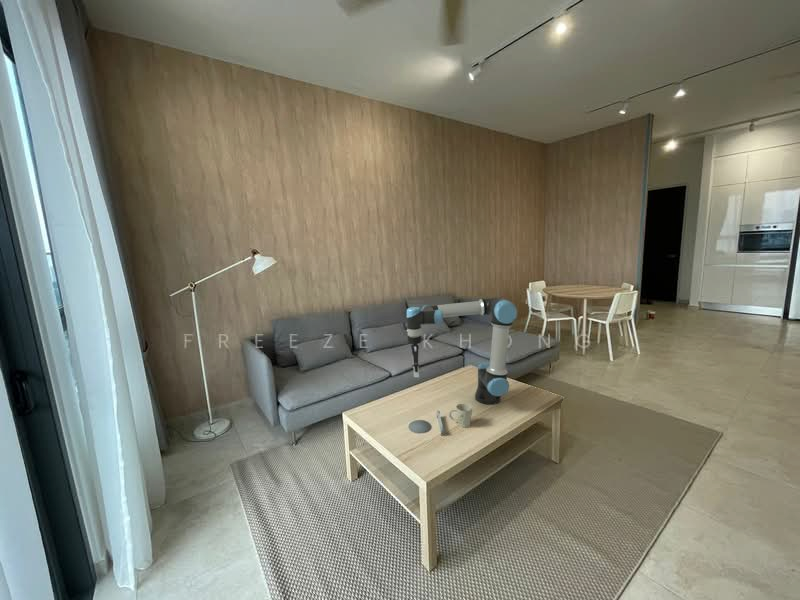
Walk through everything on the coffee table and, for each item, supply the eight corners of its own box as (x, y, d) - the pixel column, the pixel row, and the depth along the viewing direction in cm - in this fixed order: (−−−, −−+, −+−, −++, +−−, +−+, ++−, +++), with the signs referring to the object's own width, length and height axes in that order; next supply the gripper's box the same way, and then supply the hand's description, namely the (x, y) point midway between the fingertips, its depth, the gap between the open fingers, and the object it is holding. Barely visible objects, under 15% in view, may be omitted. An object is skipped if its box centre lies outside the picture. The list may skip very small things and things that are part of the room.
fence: (439, 417, 177) (439, 410, 177) (444, 435, 160) (443, 428, 159) (436, 417, 177) (436, 410, 177) (440, 435, 160) (440, 428, 159)
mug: (472, 429, 164) (472, 411, 163) (448, 427, 167) (448, 410, 165) (472, 420, 172) (472, 403, 171) (449, 419, 175) (448, 402, 173)
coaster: (429, 420, 175) (429, 419, 175) (432, 432, 163) (432, 432, 163) (408, 421, 175) (408, 420, 175) (408, 433, 163) (408, 433, 163)
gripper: (407, 329, 186) (408, 364, 189) (407, 342, 161) (409, 381, 165) (420, 329, 185) (421, 363, 189) (422, 342, 161) (424, 381, 164)
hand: (416, 372), depth 177 cm, fingers open, 13 cm apart
